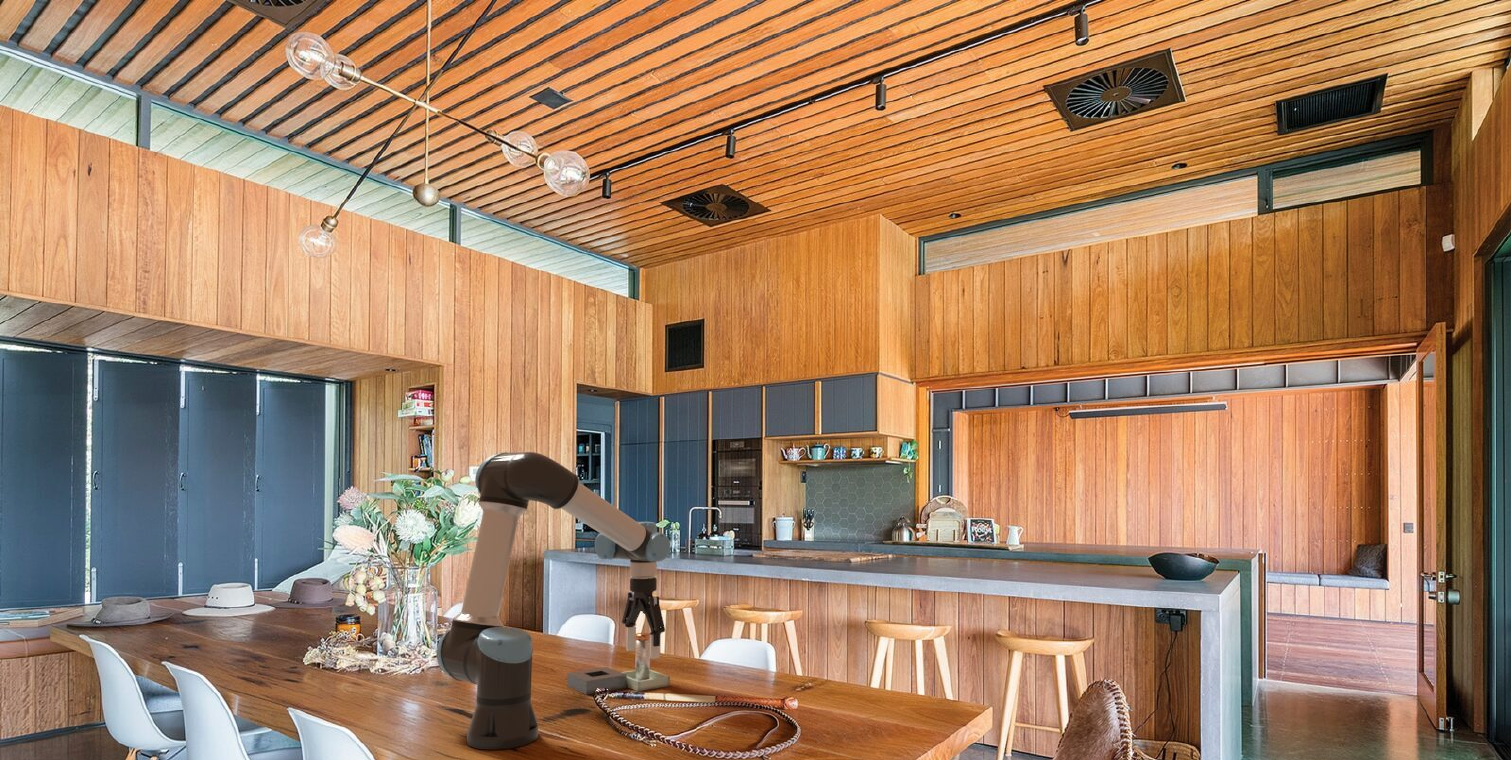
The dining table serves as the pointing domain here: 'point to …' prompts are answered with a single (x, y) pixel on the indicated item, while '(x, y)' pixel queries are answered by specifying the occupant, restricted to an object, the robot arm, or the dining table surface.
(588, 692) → the block
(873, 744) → the dining table surface
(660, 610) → the robot arm
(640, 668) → the orange capped vial
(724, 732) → the dining table surface
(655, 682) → the tray
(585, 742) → the dining table surface
